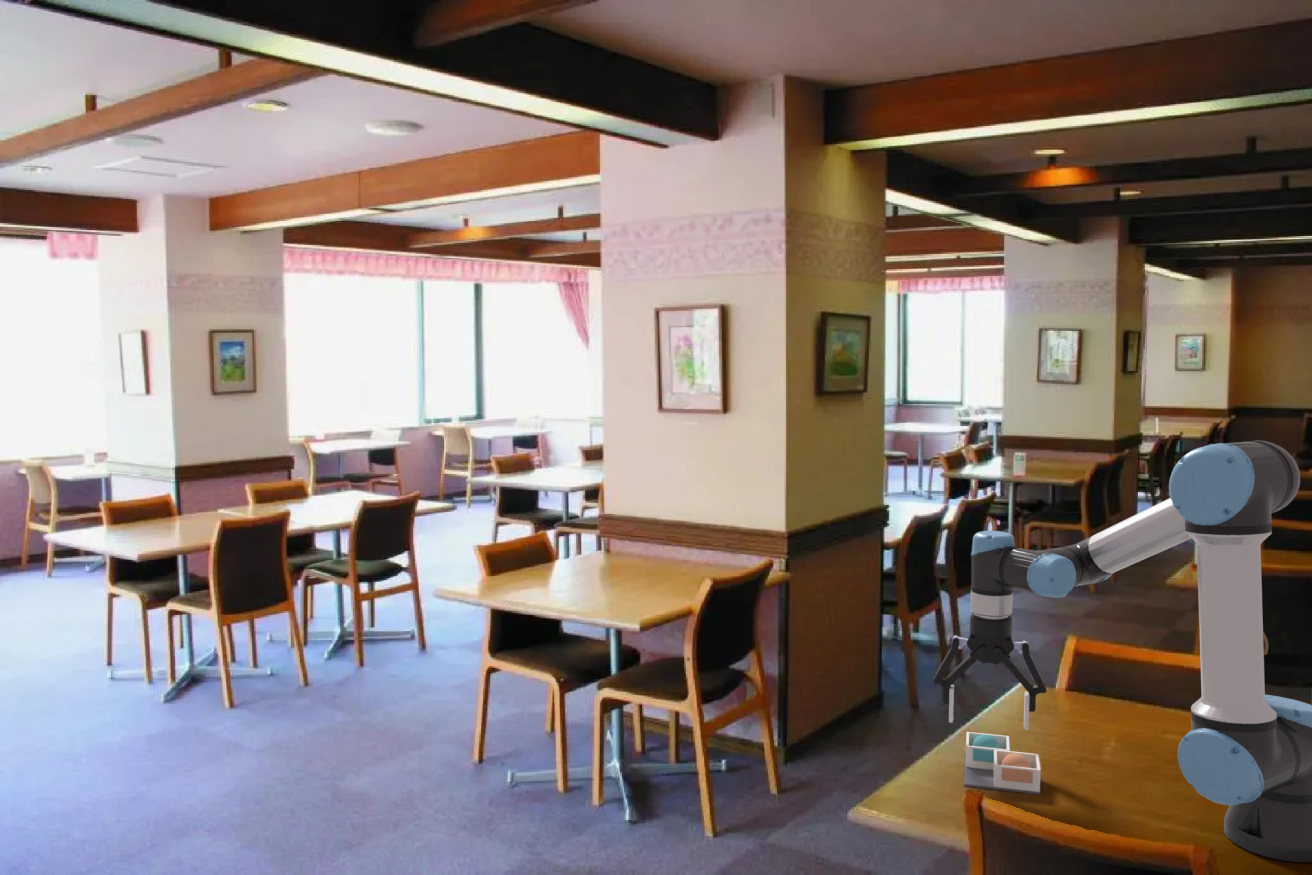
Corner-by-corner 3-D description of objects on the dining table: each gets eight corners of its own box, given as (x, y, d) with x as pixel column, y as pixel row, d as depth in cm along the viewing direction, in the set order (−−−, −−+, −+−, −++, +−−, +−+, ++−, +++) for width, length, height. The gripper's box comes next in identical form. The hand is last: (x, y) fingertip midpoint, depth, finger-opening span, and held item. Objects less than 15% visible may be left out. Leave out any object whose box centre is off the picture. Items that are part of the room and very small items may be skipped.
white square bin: (1010, 774, 201) (1010, 751, 201) (965, 769, 203) (965, 746, 203) (1009, 758, 209) (1009, 735, 208) (966, 753, 211) (966, 731, 210)
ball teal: (1001, 765, 203) (998, 739, 203) (973, 766, 205) (970, 740, 204) (1001, 755, 208) (997, 729, 208) (974, 756, 209) (970, 730, 209)
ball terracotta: (1030, 788, 194) (1031, 762, 193) (1000, 785, 195) (1001, 759, 195) (1028, 776, 199) (1030, 750, 198) (1000, 773, 200) (1001, 747, 199)
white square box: (1041, 794, 192) (1041, 770, 191) (993, 789, 194) (994, 765, 194) (1038, 777, 200) (1039, 754, 199) (993, 772, 202) (993, 749, 201)
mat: (1040, 794, 192) (1040, 792, 192) (964, 785, 196) (964, 783, 196) (1036, 760, 207) (1036, 758, 207) (965, 753, 211) (965, 751, 211)
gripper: (1060, 613, 203) (1056, 723, 205) (923, 604, 211) (921, 710, 212) (1063, 623, 196) (1059, 737, 198) (921, 614, 203) (919, 723, 205)
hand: (988, 724), depth 205 cm, fingers open, 13 cm apart
